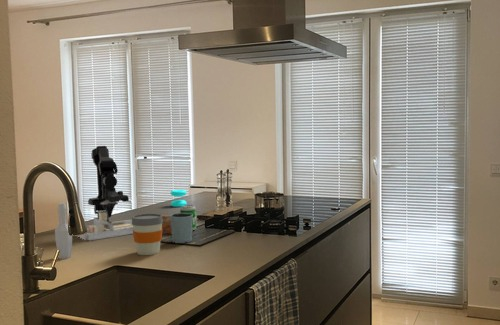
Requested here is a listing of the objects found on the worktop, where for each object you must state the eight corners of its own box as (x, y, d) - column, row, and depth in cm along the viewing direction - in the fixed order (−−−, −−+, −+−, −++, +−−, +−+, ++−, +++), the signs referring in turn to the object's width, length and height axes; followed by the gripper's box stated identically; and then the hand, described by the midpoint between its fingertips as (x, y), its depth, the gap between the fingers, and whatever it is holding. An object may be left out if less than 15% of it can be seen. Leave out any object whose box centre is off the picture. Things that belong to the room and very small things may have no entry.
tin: (151, 232, 261) (150, 215, 260) (155, 230, 264) (154, 214, 263) (176, 234, 254) (176, 217, 253) (180, 233, 257) (180, 215, 256)
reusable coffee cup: (129, 251, 222) (127, 215, 221) (157, 247, 228) (156, 212, 227) (138, 257, 211) (136, 220, 210) (168, 253, 218) (167, 216, 216)
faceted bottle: (53, 257, 214) (50, 203, 213) (67, 254, 219) (65, 201, 217) (61, 260, 210) (58, 204, 208) (76, 257, 215) (73, 202, 213)
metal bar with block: (92, 224, 266) (91, 210, 266) (98, 223, 268) (97, 209, 268) (108, 230, 251) (108, 215, 250) (114, 229, 253) (114, 214, 252)
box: (72, 235, 258) (72, 226, 258) (97, 231, 266) (97, 223, 265) (84, 240, 246) (83, 231, 246) (109, 235, 254) (109, 227, 254)
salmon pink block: (89, 232, 261) (88, 226, 260) (98, 230, 263) (97, 224, 263) (93, 233, 257) (92, 227, 257) (101, 231, 260) (101, 225, 260)
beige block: (100, 233, 258) (94, 234, 256) (100, 224, 258) (94, 224, 256) (104, 234, 254) (98, 235, 253) (103, 225, 254) (97, 226, 252)
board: (99, 231, 265) (99, 227, 265) (127, 227, 274) (127, 223, 274) (110, 235, 255) (109, 231, 255) (138, 230, 264) (138, 226, 264)
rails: (72, 233, 261) (72, 227, 261) (130, 225, 280) (130, 219, 280) (88, 240, 244) (88, 234, 244) (149, 230, 263) (149, 224, 263)
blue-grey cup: (184, 237, 246) (183, 211, 245) (198, 240, 239) (197, 214, 238) (166, 241, 239) (165, 215, 238) (180, 244, 232) (179, 217, 231)
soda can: (184, 232, 258) (183, 207, 257) (178, 229, 265) (178, 205, 264) (198, 230, 262) (197, 206, 261) (193, 228, 268) (192, 204, 267)
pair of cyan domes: (167, 191, 338) (177, 189, 346) (167, 206, 339) (177, 204, 347) (179, 191, 333) (189, 189, 341) (180, 207, 334) (190, 205, 342)
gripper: (96, 189, 248) (97, 222, 249) (133, 185, 259) (134, 216, 261) (87, 187, 257) (88, 219, 258) (123, 183, 268) (124, 214, 269)
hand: (109, 217), depth 261 cm, fingers closed
